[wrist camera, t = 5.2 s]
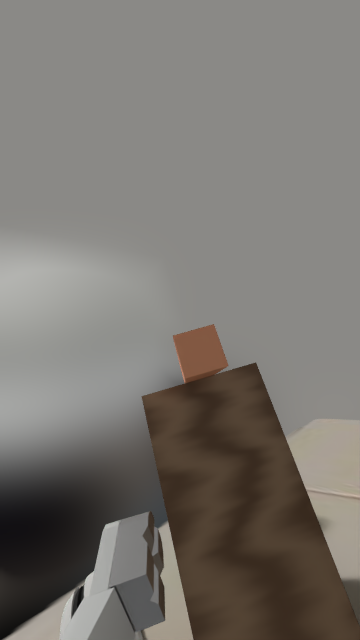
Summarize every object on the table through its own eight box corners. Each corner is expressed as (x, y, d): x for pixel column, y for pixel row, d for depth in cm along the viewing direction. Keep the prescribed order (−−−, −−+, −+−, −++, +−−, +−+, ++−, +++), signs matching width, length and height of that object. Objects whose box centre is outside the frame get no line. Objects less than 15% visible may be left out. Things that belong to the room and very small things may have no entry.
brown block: (233, 826, 13) (141, 396, 22) (210, 610, 27) (158, 394, 35) (408, 751, 14) (256, 362, 22) (300, 577, 27) (229, 373, 35)
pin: (184, 378, 14) (172, 335, 15) (185, 386, 35) (180, 368, 36) (228, 365, 14) (213, 324, 15) (203, 381, 35) (198, 363, 36)
